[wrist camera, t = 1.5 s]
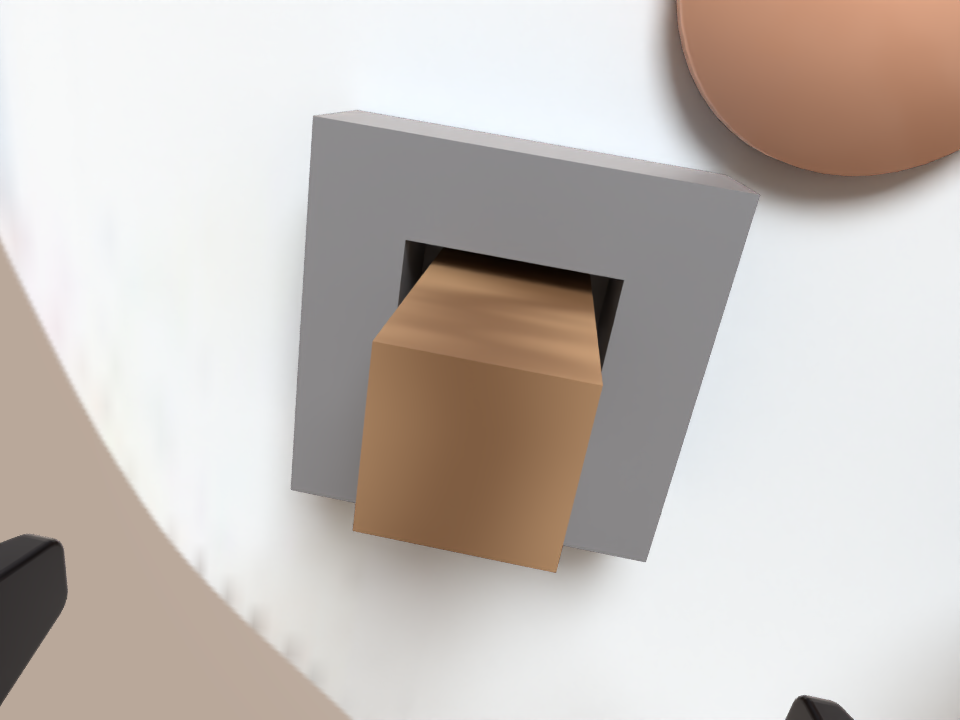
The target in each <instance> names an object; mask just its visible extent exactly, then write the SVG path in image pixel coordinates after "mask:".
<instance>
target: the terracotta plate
mask: <svg viewBox="0 0 960 720" xmlns="http://www.w3.org/2000/svg"><path fill="white" fill-rule="evenodd" d="M676 7H677V23H678V29H679V35H680V40H681V45H682V50H683V53H684V56H685V59H686V62H687V65H688V68H689V71H690V74H691V76H692V78H693V80H694V82H695V84H696V86H697V88H698V90H699V92H700V94H701V96H702V97H703V99H704V100H705V101H706V103H707V104H708V106H709V107H710V109H711V110H712V112H713V113H714V114H715V115H716V116H717V117H718V119H719V120H720V121H721V122H722V123H723V124H724V125H725V126H726V127H727V128H728V129H729V130H730V131H731V132H732V133H734V134H735V135H736V136H737V137H739V138H740V139H741V140H742V141H744V142H745V143H746V144H748V145H749V146H751V147H753V148H755V149H756V150H758V151H760V152H761V153H763V154H765V155H767V156H769V157H772V158H774V159H777V160H779V161H782V162H784V163H787V164H790V165H792V166H795V167H798V168H801V169H805V170H810V171H814V172H818V173H822V174H831V175H841V176H872V175H879V174H885V173H892V172H898V171H902V170H906V169H910V168H913V167H917V166H921V165H924V164H927V163H929V162H932V161H934V160H937V159H940V158H942V157H945V156H947V155H950V154H952V153H954V152H956V151H958V150H959V149H960V0H676Z"/></svg>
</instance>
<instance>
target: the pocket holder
mask: <svg viewBox="0 0 960 720" xmlns="http://www.w3.org/2000/svg"><path fill="white" fill-rule="evenodd" d="M759 197H760V194H758V193H756V192H755V191H753V190H751V189H749V188H748V187H746V186H744V185H743V184H741V183H739V182H737V181H736V180H734V179H732V178H731V177H729V176H727V175H724V174H718V173H713V172H707V171H701V170H696V169H690V168H684V167H679V166H673V165H667V164H661V163H656V162H650V161H644V160H639V159H633V158H627V157H622V156H616V155H610V154H605V153H599V152H593V151H587V150H582V149H576V148H570V147H565V146H559V145H553V144H548V143H542V142H536V141H530V140H525V139H519V138H513V137H508V136H502V135H496V134H491V133H485V132H479V131H473V130H468V129H462V128H456V127H451V126H445V125H439V124H434V123H428V122H422V121H417V120H411V119H405V118H399V117H394V116H388V115H382V114H377V113H371V112H365V111H360V110H354V111H346V112H338V113H331V114H323V115H315V116H313V126H312V143H311V160H310V176H309V193H308V210H307V227H306V243H305V260H304V277H303V294H302V310H301V327H300V344H299V361H298V378H297V394H296V411H295V428H294V445H293V461H292V478H291V490H294V491H299V492H304V493H309V494H314V495H319V496H324V497H329V498H334V499H339V500H343V501H348V502H353V503H356V495H357V485H358V476H359V466H360V456H361V447H362V437H363V427H364V418H365V408H366V398H367V389H368V379H369V370H370V360H371V350H372V341H373V340H374V338H375V337H376V336H377V335H378V333H379V332H380V331H381V329H382V328H383V327H384V325H385V324H386V323H387V321H388V320H389V319H390V317H391V316H392V315H393V313H394V312H395V311H396V309H397V308H398V307H399V305H400V304H401V303H402V301H403V300H404V299H405V297H406V296H407V295H408V294H409V292H410V291H411V290H412V288H413V287H414V286H415V284H416V283H417V282H418V280H419V279H420V278H421V276H422V275H423V274H424V272H425V271H426V270H427V268H428V267H429V266H430V264H431V263H432V262H433V260H434V259H435V258H436V257H437V255H438V254H439V253H440V251H441V250H442V249H443V247H447V248H453V249H458V250H464V251H469V252H474V253H480V254H485V255H491V256H496V257H502V258H507V259H512V260H518V261H523V262H529V263H534V264H540V265H545V266H550V267H556V268H561V269H567V270H572V271H577V272H583V273H588V274H590V278H591V287H592V295H593V304H594V313H595V321H596V330H597V339H598V347H599V356H600V365H601V374H602V382H603V387H602V391H601V395H600V399H599V403H598V407H597V411H596V415H595V419H594V423H593V427H592V431H591V435H590V439H589V443H588V447H587V451H586V455H585V459H584V463H583V467H582V471H581V475H580V479H579V483H578V487H577V491H576V495H575V499H574V503H573V507H572V511H571V515H570V519H569V523H568V527H567V531H566V535H565V539H564V543H563V545H564V546H568V547H573V548H578V549H583V550H588V551H593V552H598V553H603V554H608V555H612V556H617V557H622V558H627V559H632V560H637V561H642V562H646V560H647V557H648V553H649V550H650V547H651V544H652V541H653V537H654V534H655V531H656V528H657V525H658V521H659V518H660V515H661V512H662V508H663V505H664V502H665V499H666V496H667V492H668V489H669V486H670V483H671V480H672V476H673V473H674V470H675V467H676V463H677V460H678V457H679V454H680V451H681V447H682V444H683V441H684V438H685V435H686V431H687V428H688V425H689V422H690V418H691V415H692V412H693V409H694V406H695V402H696V399H697V396H698V393H699V390H700V386H701V383H702V380H703V377H704V373H705V370H706V367H707V364H708V361H709V357H710V354H711V351H712V348H713V345H714V341H715V338H716V335H717V332H718V328H719V325H720V322H721V319H722V316H723V312H724V309H725V306H726V303H727V300H728V296H729V293H730V290H731V287H732V283H733V280H734V277H735V274H736V271H737V267H738V264H739V261H740V258H741V255H742V251H743V248H744V245H745V242H746V238H747V235H748V232H749V229H750V226H751V222H752V219H753V216H754V213H755V210H756V206H757V203H758V200H759Z"/></svg>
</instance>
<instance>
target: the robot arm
mask: <svg viewBox="0 0 960 720" xmlns="http://www.w3.org/2000/svg"><path fill="white" fill-rule="evenodd" d="M67 593H68V589H67V578H66V567H65V556H64V548H63V546H62V544H61V543H60V541H58V540H56V539H53V538H49V537H43V536H39V535H34V534H23V535H20V536H17V537H15V538H12V539H9V540H7V541H4V542H2V543H0V706H1V704H2V702H3V701H4V699H5V698H6V696H7V695H8V693H9V692H10V690H11V689H12V687H13V686H14V684H15V683H16V681H17V679H18V678H19V676H20V675H21V673H22V672H23V670H24V669H25V667H26V666H27V664H28V663H29V661H30V659H31V658H32V656H33V655H34V653H35V652H36V650H37V649H38V647H39V646H40V644H41V643H42V641H43V640H44V638H45V636H46V635H47V633H48V632H49V630H50V629H51V627H52V626H53V624H54V623H55V621H56V620H57V618H58V617H59V615H60V613H61V611H62V610H63V608H64V605H65V602H66V599H67ZM785 720H854V719H853V718H852V717H851V716H850V715H849V714H848V713H847V712H846V711H845V710H844V709H843V708H842V707H841V706H840V705H839V704H837V703H836V702H833V701H831V700H826V699H821V698H817V697H812V696H807V695H802V696H799V697H798V698H796V699H795V701H794V702H793V704H792V706H791V708H790V711H789V713H788V715H787V717H786V719H785Z"/></svg>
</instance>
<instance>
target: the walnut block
mask: <svg viewBox="0 0 960 720" xmlns="http://www.w3.org/2000/svg"><path fill="white" fill-rule="evenodd" d="M602 387H603V382H602V374H601V365H600V356H599V347H598V339H597V330H596V321H595V313H594V304H593V295H592V287H591V278H590V274H588V273H583V272H577V271H572V270H567V269H561V268H556V267H550V266H545V265H540V264H534V263H529V262H523V261H518V260H512V259H507V258H502V257H496V256H491V255H485V254H480V253H474V252H469V251H464V250H458V249H453V248H447V247H443V249H442V250H441V251H440V253H439V254H438V255H437V257H436V258H435V259H434V260H433V262H432V263H431V264H430V266H429V267H428V268H427V270H426V271H425V272H424V274H423V275H422V276H421V278H420V279H419V280H418V282H417V283H416V284H415V286H414V287H413V288H412V290H411V291H410V292H409V294H408V295H407V296H406V297H405V299H404V300H403V301H402V303H401V304H400V305H399V307H398V308H397V309H396V311H395V312H394V313H393V315H392V316H391V317H390V319H389V320H388V321H387V323H386V324H385V325H384V327H383V328H382V329H381V331H380V332H379V333H378V335H377V336H376V337H375V338H374V340H373V341H372V350H371V360H370V370H369V379H368V389H367V398H366V408H365V418H364V427H363V437H362V447H361V456H360V466H359V476H358V485H357V495H356V504H355V514H354V524H353V531H356V532H361V533H366V534H370V535H375V536H380V537H385V538H390V539H395V540H399V541H404V542H409V543H414V544H419V545H424V546H429V547H433V548H438V549H443V550H448V551H453V552H458V553H462V554H467V555H472V556H477V557H482V558H487V559H491V560H496V561H501V562H506V563H511V564H516V565H521V566H525V567H530V568H535V569H540V570H545V571H550V572H554V573H556V571H557V567H558V563H559V559H560V555H561V551H562V547H563V543H564V539H565V535H566V531H567V527H568V523H569V519H570V515H571V511H572V507H573V503H574V499H575V495H576V491H577V487H578V483H579V479H580V475H581V471H582V467H583V463H584V459H585V455H586V451H587V447H588V443H589V439H590V435H591V431H592V427H593V423H594V419H595V415H596V411H597V407H598V403H599V399H600V395H601V391H602Z"/></svg>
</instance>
